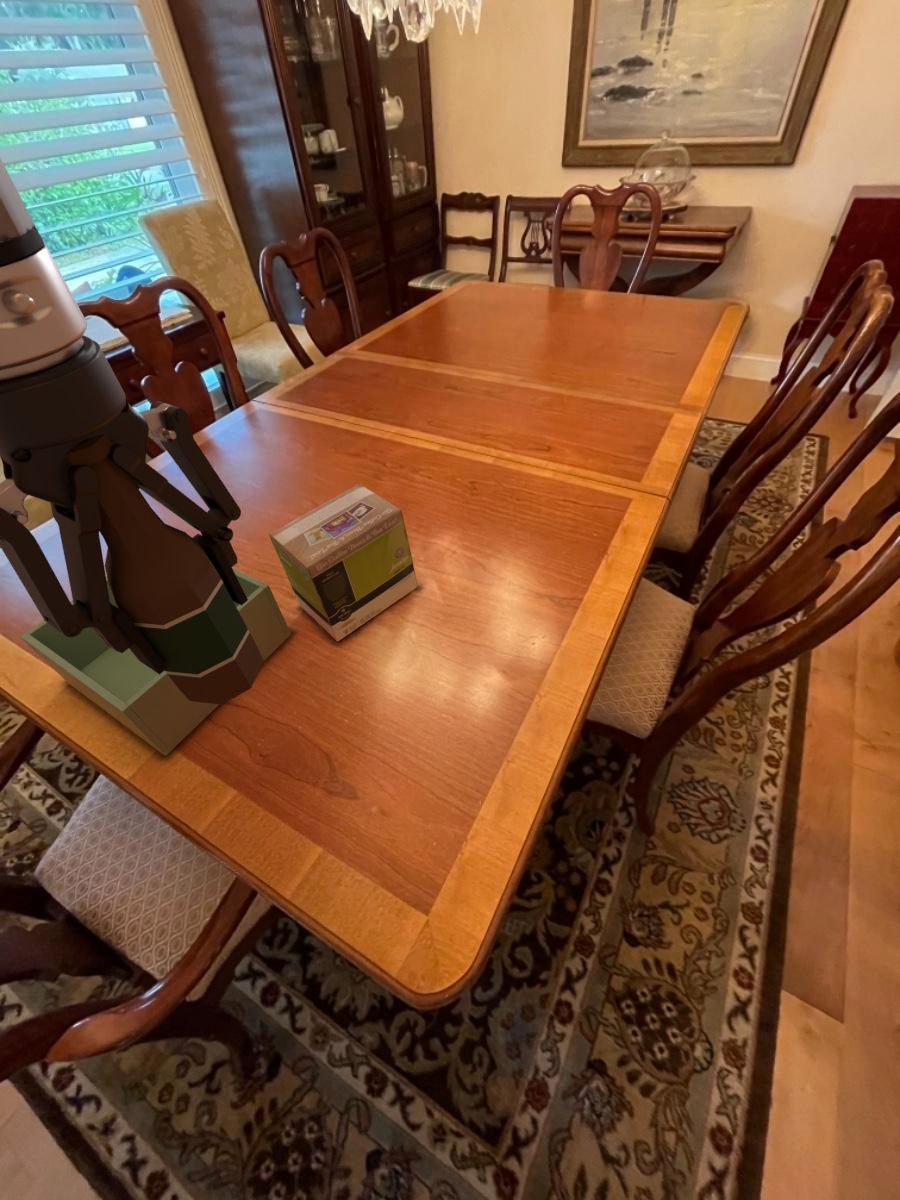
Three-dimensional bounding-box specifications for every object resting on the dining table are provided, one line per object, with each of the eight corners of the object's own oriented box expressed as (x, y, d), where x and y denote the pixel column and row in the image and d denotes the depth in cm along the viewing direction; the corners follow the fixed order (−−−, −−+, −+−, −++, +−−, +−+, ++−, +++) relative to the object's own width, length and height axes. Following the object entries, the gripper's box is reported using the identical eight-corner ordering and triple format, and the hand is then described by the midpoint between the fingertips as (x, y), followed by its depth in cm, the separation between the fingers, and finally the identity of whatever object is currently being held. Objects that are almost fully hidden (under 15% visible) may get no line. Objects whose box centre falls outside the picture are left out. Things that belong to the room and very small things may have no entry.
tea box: (379, 558, 86) (360, 479, 75) (419, 588, 80) (405, 508, 69) (299, 608, 79) (266, 530, 69) (336, 645, 74) (307, 567, 63)
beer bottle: (219, 723, 46) (46, 487, 29) (163, 686, 49) (-23, 454, 32) (283, 659, 50) (167, 421, 33) (227, 629, 53) (95, 398, 36)
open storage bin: (165, 756, 64) (122, 711, 57) (68, 683, 73) (19, 636, 66) (291, 634, 76) (268, 584, 69) (194, 584, 85) (165, 535, 78)
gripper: (-188, 464, 21) (112, 745, 38) (216, 299, 33) (312, 570, 49) (-242, 425, 25) (56, 700, 41) (143, 286, 36) (256, 545, 52)
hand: (195, 629), depth 45 cm, fingers closed on beer bottle, 8 cm apart
